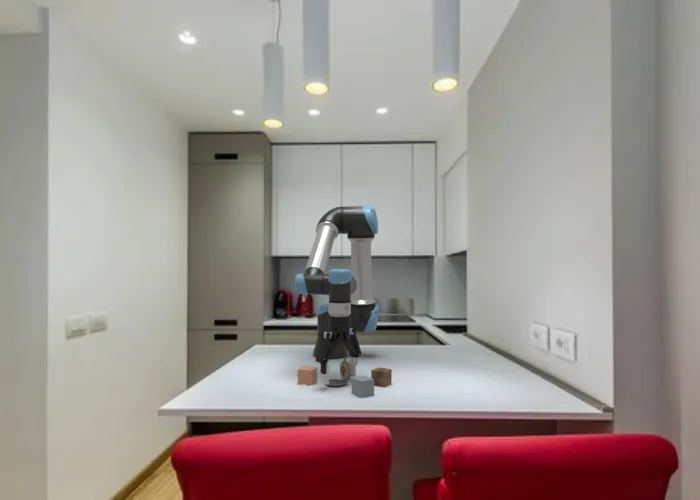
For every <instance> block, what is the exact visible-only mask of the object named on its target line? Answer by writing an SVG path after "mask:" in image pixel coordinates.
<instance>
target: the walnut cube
mask: <svg viewBox="0 0 700 500" xmlns="http://www.w3.org/2000/svg"><path fill="white" fill-rule="evenodd" d="M370 372H371V375H370V378H372V379H374V387H380V388H381V387H382V388H386V387H388V386H390V385H392V379H393V378H392V374H393V373H392V368H386V367H378V366H377V367H376V368H374V369H371V370H370Z"/></svg>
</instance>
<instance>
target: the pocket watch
mask: <svg viewBox="0 0 700 500" xmlns="http://www.w3.org/2000/svg"><path fill="white" fill-rule="evenodd" d="M345 354H346V353H345ZM345 354H344V355H345ZM346 355H347V354H346ZM348 355H349V354H348ZM348 355H347V356H344V357H343V360H342V361H341V362H340V365H339V374H340V377H341V379H335V378H333V379H329V384H328V385H327V386H329V387H333V386H334V388H337V387H343V386H345V385H346V384H347V382H348V381H349V380H350V379H351V378H352V377H351V368H350V365H349V361H347V358H349V356H348Z"/></svg>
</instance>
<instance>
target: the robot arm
mask: <svg viewBox="0 0 700 500" xmlns="http://www.w3.org/2000/svg"><path fill="white" fill-rule="evenodd" d="M378 233H379V222H378V216H377V212H376V209H375V208H374V207H373V206H370V205H369V206H367V205H361V206H360V205H358V206H357V205H355V206H353V205H352V206H350V205H349V206H336V207H334V208H332V209H330V210H328V211H327V212H326V213H324V214H323V215H322V216H321V218H320V219H319V220H318V222H317V224H316V228H315V234H316V235H315V238H314V241H313V244H312V248H311V251H310V254H309V257H308V260H307V264H306V267H305V270H304V273H303V272H302V273H297V274H296V275H295V278H294V289H295V292H296V293H297V295H298V294H299V295H312V296H313V295H314V296H315V295H317V296H319V295H321V296H324V295H325V296H328V302H323V303H320V304H319V305H318V307H317V314H316V316H317V325H316V326H317V330H316V331H317V334H316V335H317V336H316V337H317V338H316V340H315V344H314V348H313V350H312V356H313V357H315V362H316V363H318V364H319V365H320V374H321V384H323V385H327V386H329V385H328V384H329V380H330V364H329V363H328V362H329V360H330V359H331V360H332V359H334V360H335V359H342V358H343V359H344V356H346V357H347V355H349V356H348V363H349V365H350V368H351V377H350V378H353V377H357V365H358V358H360V356H361V354H362V350H361V346H360V344H359V339H358V337H357V333H364V334H366V333H374V332H375V331H376V329H377V326H378V320H379V315H380V314H379V313H380V306H379V305H377V304H376V300H375V299H374V298H373V295H372V293H373V292H372V289H373V287H372V285H373V284H372V242H373V240H374V239H375V238H376V237H375V235H377V234H378ZM339 235H347V238H346V239H347V240H348V241H349V242H350V252H351V253H350V260H351V261H350V263H351V266H350V267H351V268H350V269H349V268H345V269H344V268H333V269H330V270H329V273H326V271H327V267H328V263H329V260H330V256H331V254H332V249H333V245H334V243H335V240H336V239H337V238H338V236H339ZM345 353H346V354H347V355H346V354H345ZM344 354H345V355H344Z"/></svg>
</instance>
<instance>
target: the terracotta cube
mask: <svg viewBox="0 0 700 500" xmlns="http://www.w3.org/2000/svg"><path fill="white" fill-rule="evenodd" d="M315 382H316V383H318V366H307V365H306V366H305V365H303V366H301V367H299V368H297V385H301V384H306V385H305V386H311V385H312V384H313V385H315V384H316V383H315ZM314 383H315V384H314ZM313 385H312V386H313Z"/></svg>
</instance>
